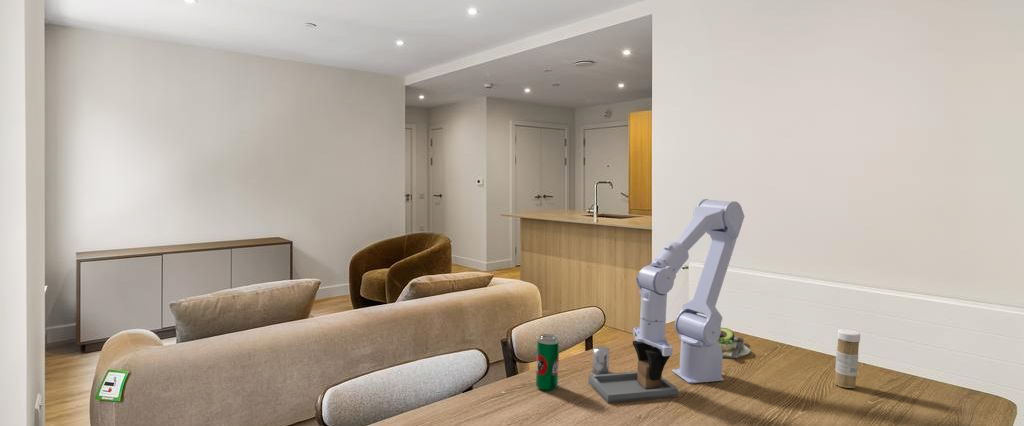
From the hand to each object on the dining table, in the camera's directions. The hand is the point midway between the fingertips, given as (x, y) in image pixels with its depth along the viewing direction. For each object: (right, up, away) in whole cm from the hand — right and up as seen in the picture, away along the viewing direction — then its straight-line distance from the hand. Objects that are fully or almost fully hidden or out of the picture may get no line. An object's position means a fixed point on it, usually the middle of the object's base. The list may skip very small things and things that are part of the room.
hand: (650, 375), depth 122 cm
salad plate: (+27, -2, +30) cm, 40 cm away
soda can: (-24, -3, -1) cm, 24 cm away
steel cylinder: (-10, -2, +9) cm, 14 cm away
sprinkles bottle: (+48, -4, +4) cm, 48 cm away
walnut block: (0, -2, 0) cm, 2 cm away
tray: (-4, -3, -1) cm, 5 cm away
